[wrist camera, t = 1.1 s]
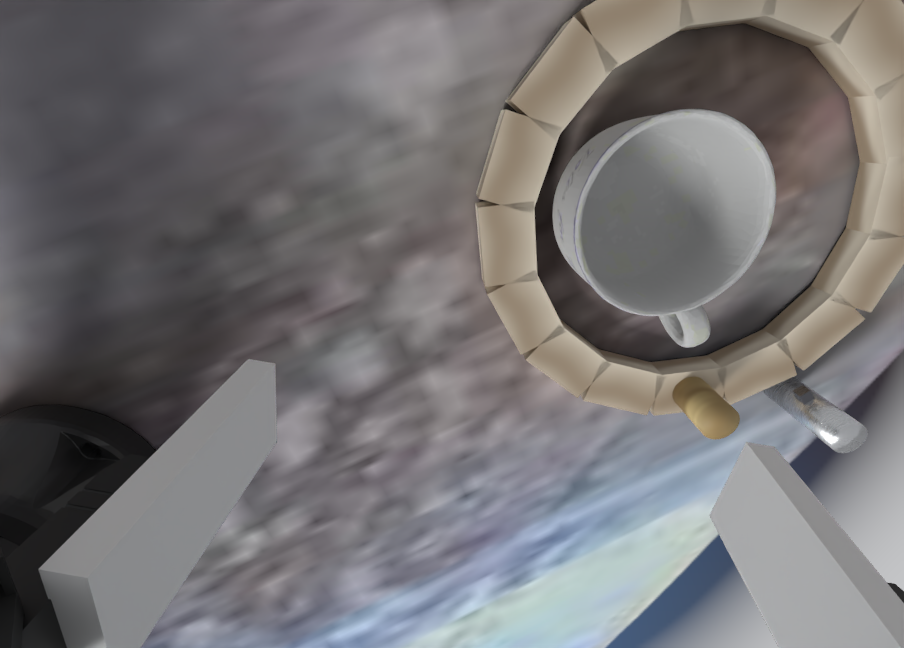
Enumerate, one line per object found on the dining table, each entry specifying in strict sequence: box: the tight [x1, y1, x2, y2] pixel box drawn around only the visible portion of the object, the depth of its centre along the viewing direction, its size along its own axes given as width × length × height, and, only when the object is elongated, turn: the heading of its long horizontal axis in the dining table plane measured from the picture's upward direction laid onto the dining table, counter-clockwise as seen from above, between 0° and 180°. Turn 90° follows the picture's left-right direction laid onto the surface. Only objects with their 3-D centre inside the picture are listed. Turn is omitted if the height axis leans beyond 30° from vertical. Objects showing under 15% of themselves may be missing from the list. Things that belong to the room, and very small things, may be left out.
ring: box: [475, 0, 904, 439], centre depth 29 cm, size 29×29×6 cm
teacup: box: [552, 109, 776, 348], centre depth 29 cm, size 14×11×8 cm
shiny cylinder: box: [764, 377, 868, 453], centre depth 35 cm, size 2×3×7 cm
